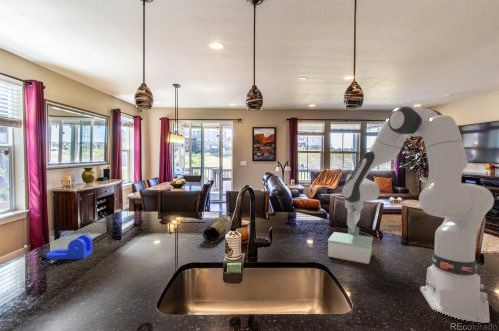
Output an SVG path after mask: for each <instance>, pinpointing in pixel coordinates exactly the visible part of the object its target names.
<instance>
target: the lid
mask: <svg viewBox="0 0 499 331" xmlns="http://www.w3.org/2000/svg"><path fill="white" fill-rule="evenodd" d="M359 234H360V227H359V226H356V227H355V232H351V226H348V225H347V233H344V232H338V231H337V232H336V231H334V232H333V233H332V234H331V235H330V236H329V237H328V239H327V243H328V242H330V243H336V244H342V245H349V246H355V247H361V248H368V249H370V247H371V243H373V237H372V236H365V235H359Z"/></svg>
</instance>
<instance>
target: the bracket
mask: <svg viewBox="0 0 499 331" xmlns="http://www.w3.org/2000/svg"><path fill="white" fill-rule="evenodd" d="M91 254H93V238H92V237H91V236H90V235H88V234H81V235H79V236H78V237H77V238H75V239H73V240H71V241H70V242H69V243H68V245H67V248H63V249H62V248H60V249H59V248H58V249H54V250H50V251H48V252H46V254H45V258H46V259H47V260H50V261H52V260H81V259H85V258H87V257H88V256H90V255H91Z"/></svg>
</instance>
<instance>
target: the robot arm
mask: <svg viewBox="0 0 499 331" xmlns="http://www.w3.org/2000/svg"><path fill="white" fill-rule="evenodd" d="M409 136H412V137H421V138H422V139H423V142H424V147H425V153H426V159H427V164H428V177H427V178H428V179H427V181H426V185H425V187H424V188H423V189H422V190H421V192H420V193H419V196H418V202H419V206H420V208H421V210H422V211H423V212H424V213H425V214H427V215H429V216H433V217H438V218H444V220H443V222H442V223H441V224H440V226H438V228H437V229H436V230H435V232H434V252H432V256H431V257H432V258H431V259H432V264H431V265H430V266H429V267H427V270H426V283H425V284H426V285H425V286H424V285H423V286H420V288H419V290H420V292H421V294H422V296H423V297H424V299H425V300H426V301H427V303H428V305H429V306H430V308H431V310H433V311H434V310H435V311H434V312H436V311H437V312H436V313H438V312H440V313H442V314H441V315H443V314H445V315H444V316H446V315H448V316H447V317H449V316H451V317H450V318H452V317H454V318H453V319H456V318H457V320H460V319H461V320H460V321H464V320H466V321H465V322H468V321H473V322H472V323H474V322H481V323H489V322H490V323H491V320H490V319H491V318H490V308H489V300H488V292H487V293H486V292H483V291H481V290H484V288H485V285H484V284H483V283H481V276H480V275H479V274H478V273H477V272H478V270H477V269H478V264H477V259H476V245H477V244H476V243H477V237H478V233H479V230H480V227H481V225H482V222H483V219H484V218H485V216H486V215H487V213H488V212H489V211H490V210H491V209H492V208H493V207H494V203H495V198H494V195H493V194H492V192H491V191H490V190H489V189H488V188H487V187H484V186H481V185H478V184H473V183H462V176H463V172H464V170H465V169H466V168H467V166H468V164H469V161H468V158H467V153H466V148H465V145H464V142H463V138H462V134H461V132H460V129H459V127H458V124H457V123H456V120H455V119H454V118H453V116H450V115H446V114H443V113H441V112H440V111H439V110H436V109H428V108H424V107H422V106H421V107H419V106H406V105H405V106H400V107H397V108H395V109H393V110H392V111H391V113H390V114H389V117H388V118H387V119H386V120H385V121H384V123H383V124H382V126H381V127H380V129H379V131H378V133H377V135H376V138H375V139H374V141H373V143H372V144H371V146H370V147H369V149H367V150H366V152H364V154H363V155H362V156H361V157H360V158H359V161H358V162H357V164H356V166H355V167H354V169H353V171H352V173H349V174H347V175H346V179H345V183H344V184H343V185H342V187H341V188H342V189H341V194H342V197H343V198H344V207H345V209H347V213H346V214H347V216H346V218H347V219H346V226H347V227H348V226H351V232H355V227H357V224H358V222H359V220H360V219H361V212H362V210H364V202H370V201H375V200H378V198H379V197H380V194H381V189H380V188H381V187H380V186H379V184H378V183H377V182H376V181H373V180H370V179H369V178H367V177H368V174H369V173H370V172H371V170H373V169H375V168H376V167H378V166H381V165H383V164H386V163H389V162H392V161H393V160H395V159H396V158H397V157H398V155H399V154H400V152H401V150H402V148H403V145H404V143H405V141H406V139H407V138H408V137H409ZM440 313H439V314H440ZM481 323H480V324H481ZM490 323H489V324H490Z"/></svg>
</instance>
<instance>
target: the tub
mask: <svg viewBox="0 0 499 331" xmlns="http://www.w3.org/2000/svg"><path fill="white" fill-rule="evenodd" d="M327 243H328V245H327V246H328V248H327V255H328V256H327V257H329V258H335V259H340V260H346V261H351V262H354V263H355V262H357V263H362V264H367V265H369V264H370V261H371V257H372V254H373V253H372V252H373V251H372V249H373V248H372V247H373V244H372V243H373V242H372V243H371V247H370V249H368V248H361V247H355V246H349V245H342V244H336V243H330V242H328V241H327Z"/></svg>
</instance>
